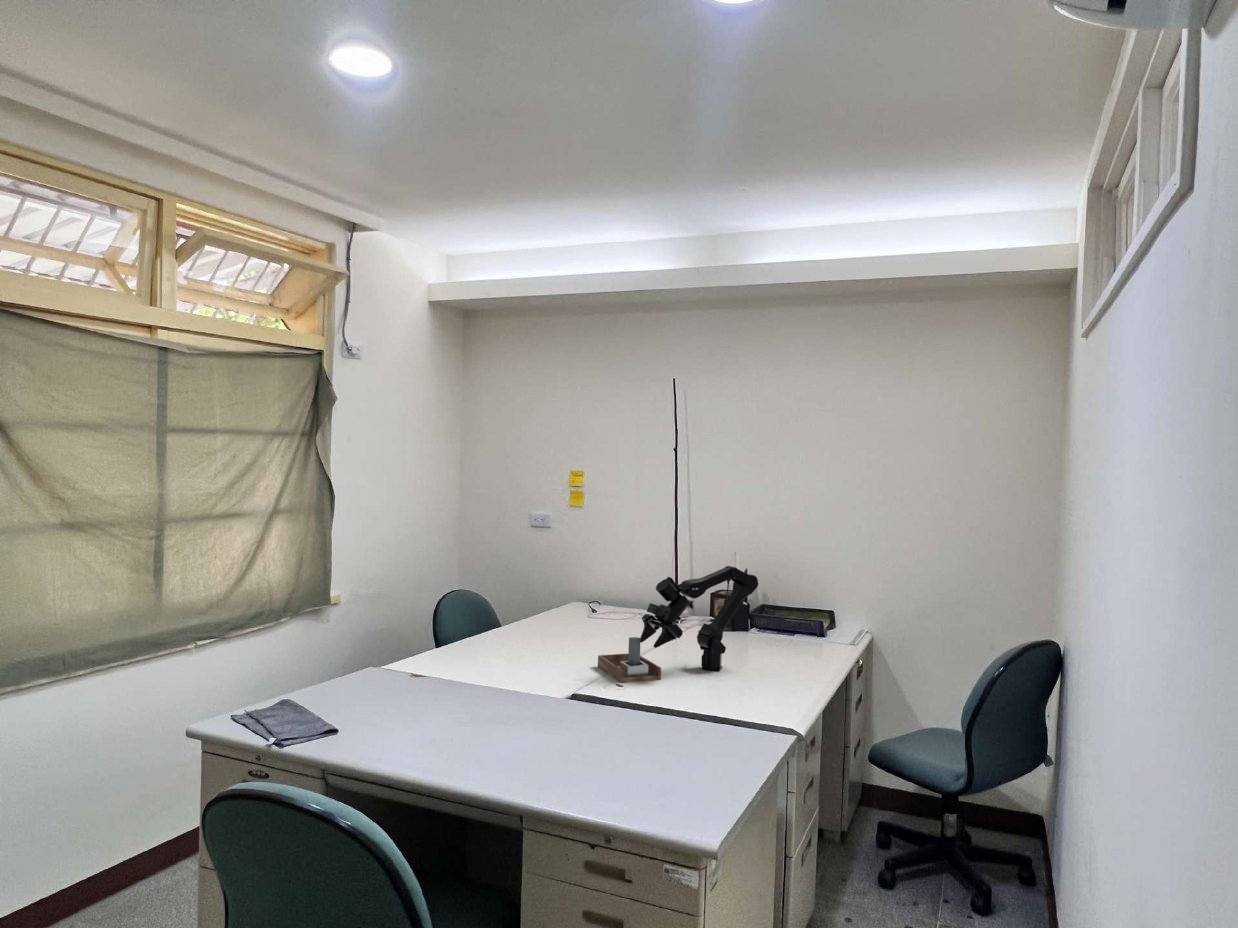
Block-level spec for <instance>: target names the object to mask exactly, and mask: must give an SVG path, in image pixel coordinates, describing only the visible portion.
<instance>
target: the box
mask: <svg viewBox="0 0 1238 928" xmlns="http://www.w3.org/2000/svg"><path fill="white" fill-rule="evenodd" d="M640 660H641V661H642V662H644V663H646V664H647V665H648V676H642V677H629V678H624V677H623V670H622V669H620V661H628V653H619V654H618V653H616V654H612V653H611V654H598V655H597V668H598V669H600V670H602V671H603V672H605V673H606V674H607V675H609V676H610V677H612V678H613V679H614V680H615V681H617V682H619V683H620V684H623V683H636V682H648V681H661V680H662V667H661V666H659V665H658V664H656V663H653V662H652V661H651V660H648V658H645V657H643V656H642V655H640Z"/></svg>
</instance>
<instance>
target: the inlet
mask: <svg viewBox="0 0 1238 928" xmlns="http://www.w3.org/2000/svg"><path fill="white" fill-rule="evenodd" d="M620 669H622V670H623V677H624V678H629V677H642V676H648V665H647V664H646V663H644V662H642V661H641V660H640V665H632V666H629V665H628V661H620Z"/></svg>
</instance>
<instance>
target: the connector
mask: <svg viewBox="0 0 1238 928" xmlns="http://www.w3.org/2000/svg"><path fill="white" fill-rule="evenodd" d="M640 638H641V637H636V636H633V637H628V665H629V666H632V665H640V656H641V642H640V640H641V639H640Z"/></svg>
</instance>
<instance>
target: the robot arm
mask: <svg viewBox="0 0 1238 928" xmlns="http://www.w3.org/2000/svg"><path fill="white" fill-rule="evenodd" d="M728 580H730V581H732V582H733V583H732V590H731V593H730V594H729V596H728V597H727V599H726V601H725V602H724V603H723V605H722V606H721V608H720V609H719V611H718V612H717V613H716V615H715V617H714V618H713V620H712V621H711V622H709V624H708V623H703V624H702V626H701V628H700V629H699V630H697V635H696V641H697V644H698V645H699V648H700V650H701V651H702V652H703V653H702V654H701V670H705V671H715V672H720V671H721V669H722V668H723V665H722V659H723V658H722V657H723V656H722V654H725V652H726V649H727V647H726V646H725V645H724V643H723V642H722V640H723V636H724V629H725V628H726V626H727V625H728V624H729V622H730V621H731V619H732V617H733V616H734V615H735V613H736V611H738V609H739V607H740V605H741V604H742V602H743V600H744V599H745V598H747V597H749V596H750V595H752V594H753V593H754V591H755V590H757V588H758V586H759V579H758V577H757V576H756V575H754V574H749V573H747V572H744V571H742V570H740V569H738V568H737V567H736V566H731V565H727V566H725V567H723V568H721V569H719V570H716V571H714V572H712V573H710V574H706V575H705V576H702V577H699V578H690V579H685V580H683V581H682V582H681V583H679V584H677V583H676V582H675V580H674V579H673V577H671V576H667V577H666V578H664V579H662V580H661V581H660V582H658V583H657V584H656V586H655V591H656V592H657V593H658V594H659V595H660V596H661V597H662V598H663V599H664V601H665V602H669V603H668V604H667V605H665V604H660V605H659V604H654V603H651V602H650V603H649V604H648V606H647V610H646V612H647V613H645V614H643V616H642V617H641V619H642V622H643V630H642V632H641V635H640V637H639V638H640V639H641V640H640V644H641V643H644V642H645V641H647V640H648V639H649V638H650V637H652V636H654V634H656V633H657V630H660V628H661V633H660V635H659V636H658V637H657V639H656V641H655V642H654V644H653V648H655V649H657V648H659V647H660V646H663V645H665V644H667V643H669V642H672V641H674V640H677V639H681V637H682V636H683V629H682V628H681V627H680V626H679V625H678V623H676V622H677V621H681V616H682V615H683V613H684V612H685V610H687V608H688V609H691V610H693V609H694V604H693V600H690V599H688V598H691V599H698V598H700V597H702V595H704V594H705V593H706V591H707V590H709V589H711V588H712V587H716V586H717V585H720V584H722V583H724V582H725V583H726V582H727V581H728Z"/></svg>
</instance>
